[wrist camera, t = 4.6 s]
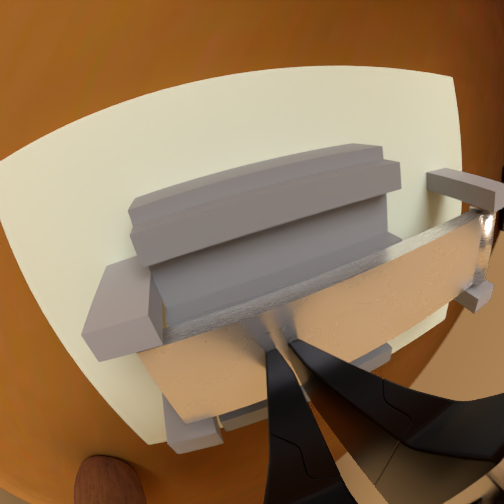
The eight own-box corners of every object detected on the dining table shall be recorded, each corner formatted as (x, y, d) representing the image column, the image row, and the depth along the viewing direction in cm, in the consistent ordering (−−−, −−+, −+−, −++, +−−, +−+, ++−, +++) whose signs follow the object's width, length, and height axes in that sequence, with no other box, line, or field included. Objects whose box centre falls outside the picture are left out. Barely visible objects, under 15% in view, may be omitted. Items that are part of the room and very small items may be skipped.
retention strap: (477, 202, 11) (500, 210, 10) (470, 266, 13) (489, 277, 12) (138, 329, 8) (136, 362, 7) (182, 401, 10) (187, 432, 9)
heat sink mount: (440, 77, 12) (513, 78, 7) (436, 313, 20) (482, 348, 15) (-3, 168, 8) (-86, 195, 3) (147, 433, 15) (155, 503, 10)
